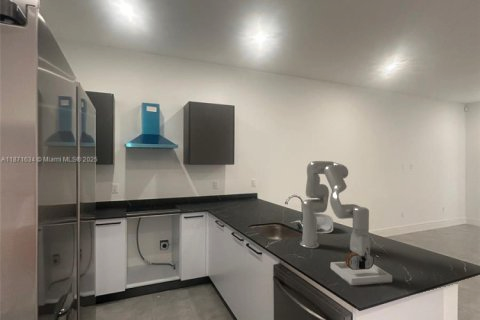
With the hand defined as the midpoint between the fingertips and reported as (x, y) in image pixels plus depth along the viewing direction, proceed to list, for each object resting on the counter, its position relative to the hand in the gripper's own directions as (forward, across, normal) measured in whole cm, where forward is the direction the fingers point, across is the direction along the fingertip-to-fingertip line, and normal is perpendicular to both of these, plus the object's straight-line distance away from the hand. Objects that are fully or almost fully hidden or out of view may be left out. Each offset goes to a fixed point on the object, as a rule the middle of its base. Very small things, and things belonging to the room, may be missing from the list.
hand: (359, 266), depth 124 cm
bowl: (+4, -78, +19) cm, 81 cm away
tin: (+1, 0, 0) cm, 1 cm away
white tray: (+4, 0, 0) cm, 4 cm away
